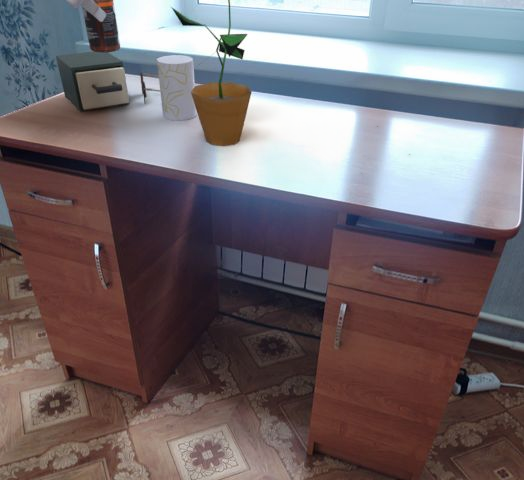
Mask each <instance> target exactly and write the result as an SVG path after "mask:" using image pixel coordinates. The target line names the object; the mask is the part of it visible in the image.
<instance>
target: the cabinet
mask: <svg viewBox="0 0 524 480" xmlns="http://www.w3.org/2000/svg"><path fill="white" fill-rule="evenodd" d="M55 60H56V63H57V68H58V72H59V76H60V81H61V85H62V89H63V93H64V97H65V99H67V100H68V101H69V103H71V104H72V105H73V106H74V107H75V108H76V109H77V110H78V111H79V112H85V111H93V110H98V109H106V108H111V107H112V108H113V107H117V106H123V105H124V106H126V105H129V104H130V102H129V103H124V104H118V105H111V106H105V107H98V108H91V109H83V106H82V102H81V98H80V93H79V88H78V84H77V79H76V74H75V71H80V70H89V69H97V68H105V67H113V66H117V67H118V68H119V67H123V68H124V69H125V67H124V62H123V60H121V59H119V58H118V57H116V56H115V55H113V54H111V52H95V51H86V52H77V53H68V54H67V53H66V54H58V55H55Z"/></svg>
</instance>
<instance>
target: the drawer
mask: <svg viewBox="0 0 524 480" xmlns="http://www.w3.org/2000/svg"><path fill="white" fill-rule="evenodd" d="M123 67H124V66H123ZM123 67H119V68H118V67H117V66H113V67H105V68H97V69H89V70H80V71H75V74H76V79H77V84H78V88H79V93H80V98H81V102H82V106H83V109H91V108H98V107H105V106H111V105H118V104H124V103H129V104H130V98H129V92H128V85H127V78H126V72H125V67H124V68H123Z"/></svg>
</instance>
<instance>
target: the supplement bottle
mask: <svg viewBox="0 0 524 480" xmlns="http://www.w3.org/2000/svg"><path fill="white" fill-rule="evenodd" d="M93 1H94V2H95V3H96V4H97V5H98V6H99V7H100V8H101V9H102V10H103V11H104V12H105V13H106V17H105V19H104V20H103V21H102V22H100V21H99V20H98V19H97V18H96V17H94V16H93V15H92V14H91V13H89V12H88V11H87V10H85V9H84V8H83V7H82V6H81V9H82V14H83V18H84V24H85V29H86V30H85V31H86V35H87V40H88V44H89V49H90V50H91V52H108V53H113V52H116V51H119V50H120V49H121V41H120V35H119V28H118V21H117V16H116V9H115V3H114V0H93Z"/></svg>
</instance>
